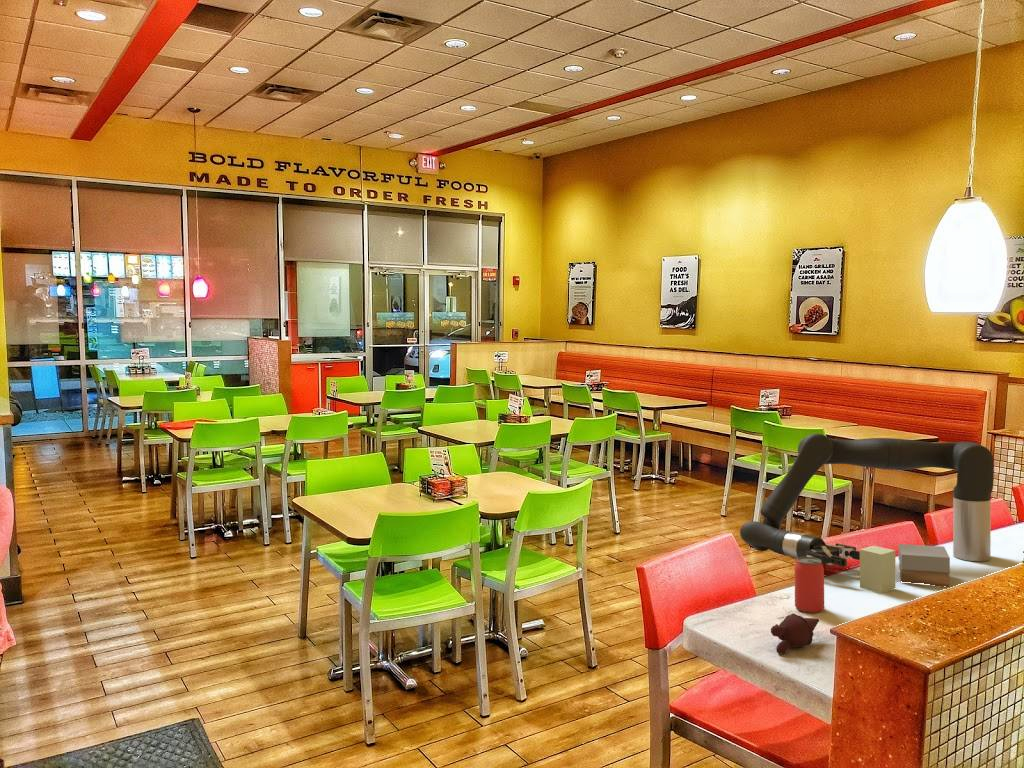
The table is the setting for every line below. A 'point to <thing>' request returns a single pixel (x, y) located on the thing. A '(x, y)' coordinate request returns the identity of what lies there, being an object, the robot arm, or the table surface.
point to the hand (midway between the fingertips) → (856, 560)
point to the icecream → (794, 632)
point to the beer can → (809, 585)
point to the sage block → (877, 569)
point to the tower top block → (924, 558)
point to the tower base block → (924, 577)
